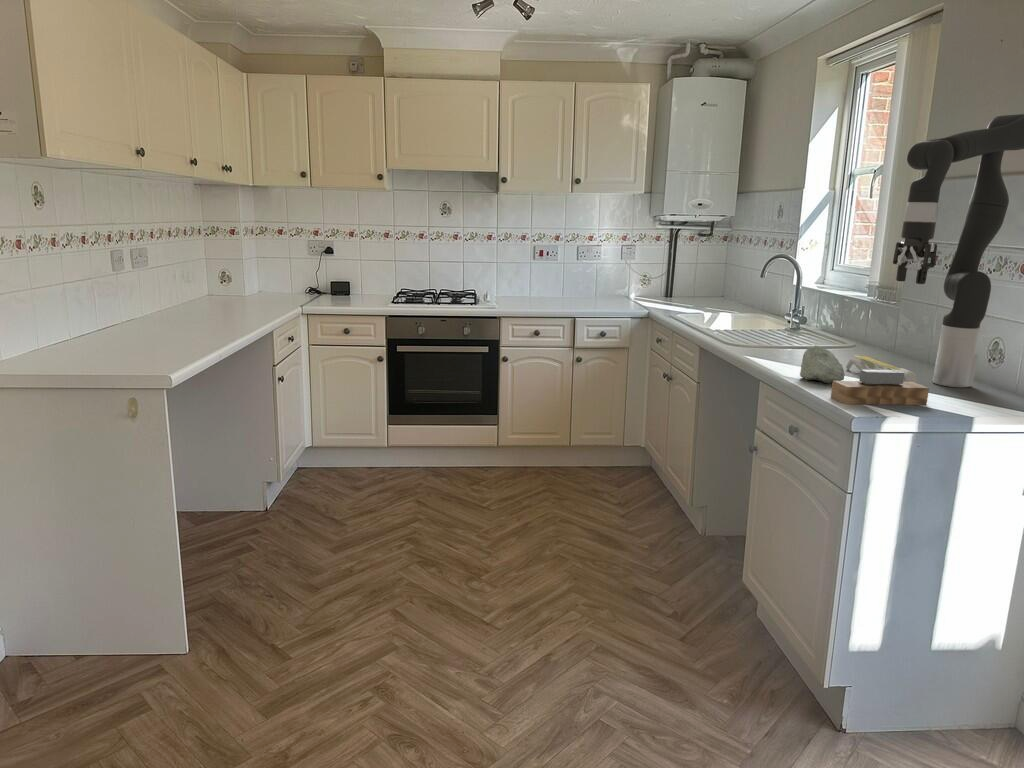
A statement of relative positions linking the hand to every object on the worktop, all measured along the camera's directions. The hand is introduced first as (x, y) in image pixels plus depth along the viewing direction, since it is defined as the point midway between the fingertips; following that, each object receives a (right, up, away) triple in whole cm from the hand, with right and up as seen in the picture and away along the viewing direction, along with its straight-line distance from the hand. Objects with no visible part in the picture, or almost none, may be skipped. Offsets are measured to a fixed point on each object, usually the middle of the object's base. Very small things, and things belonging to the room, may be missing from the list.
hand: (910, 282), depth 191 cm
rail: (-11, -32, -5) cm, 34 cm away
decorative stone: (-17, -27, +17) cm, 36 cm away
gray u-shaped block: (-11, -32, -5) cm, 34 cm away
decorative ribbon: (+3, -27, +21) cm, 34 cm away
